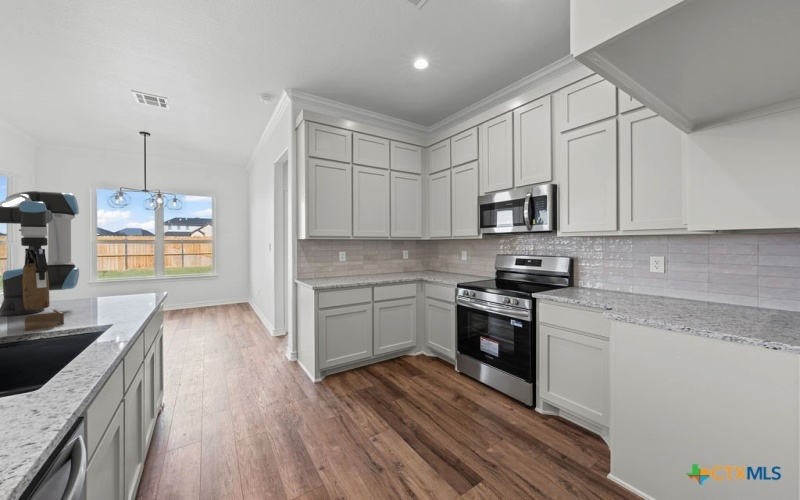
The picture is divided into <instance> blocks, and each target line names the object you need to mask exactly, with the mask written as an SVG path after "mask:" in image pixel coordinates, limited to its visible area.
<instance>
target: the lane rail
mask: <svg viewBox="0 0 800 500" xmlns="http://www.w3.org/2000/svg"><path fill="white" fill-rule="evenodd" d="M52 311H53V312H56V313H57V324H58V323H59V324H60V325H64V324H65V320H64V312H63V311H60V310H58V309H56V308H55V309H53V310H52ZM53 312H52V313H53Z"/></svg>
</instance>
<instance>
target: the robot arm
mask: <svg viewBox="0 0 800 500" xmlns="http://www.w3.org/2000/svg"><path fill="white" fill-rule="evenodd" d="M77 200H78V199H77V198H76V196H75V194H73V193H68V192H53V191H35V190H32V191H31V190H30V191H22V192H18V193H17V192H16V193H14V194H11V195H9V196H6V198H5V200H2V201H0V224H18V225H19V224H20V229H18V232H20V237H21V236H22V237H21V238H20V243H21V246H23V247H28V248H25V249H24V251H25V252H24V253H25V256H24V265H25V264H28V263H35V266H36V269H37V271H35V273H36V282H37V288H43V287H47V285H46V271H48V280H49V292H50V291H61V290H62V291H64V290H72V289H74V288H76V287H77V284H78V281H79V278H80V269H79V268H78V267H76V264H75V263H73V262H72V220H73V219H75V218H76V215H79V213H80V210H79V209H80V208H79V205H78V201H77ZM47 225H48V227H47ZM45 246H47V258H46V249H45V248H42V247H45ZM22 277H23V267H21V268H20V267H19V268H15V269H14V268H13V269H8V270H5V271H3V272H2V280H1V281H2V292H3V300H2V303H1V305H0V317H11V316H12V317H13V316H22V315H24V316H25V315H31V314H36V313H39V312H43V311H45V308H44V309H37V310H26V309H24V303H23V286H22V281H23V280H22Z"/></svg>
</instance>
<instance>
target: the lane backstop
mask: <svg viewBox="0 0 800 500" xmlns="http://www.w3.org/2000/svg"><path fill="white" fill-rule="evenodd" d="M57 326H58V322H57V313H56V312H47V313H40V314H33V315H26V316H25V315H24V330H25V331H26V332H28V330H29V331H34V330H40V329H48V328H52V327H57Z"/></svg>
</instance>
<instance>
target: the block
mask: <svg viewBox="0 0 800 500" xmlns="http://www.w3.org/2000/svg"><path fill="white" fill-rule="evenodd" d="M22 268H23V277H22V280H23V281H22V286H23V303H24V309H26V310H37V309H44V310H45V309H47V308H49V307H50V303H51V302H50V291H49V280H48V271H46V285H47V287H43V288H37V282H36V273H35V271H37V269H36V266H35V263H28V264H25V263H24V265H23V267H22Z"/></svg>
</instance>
